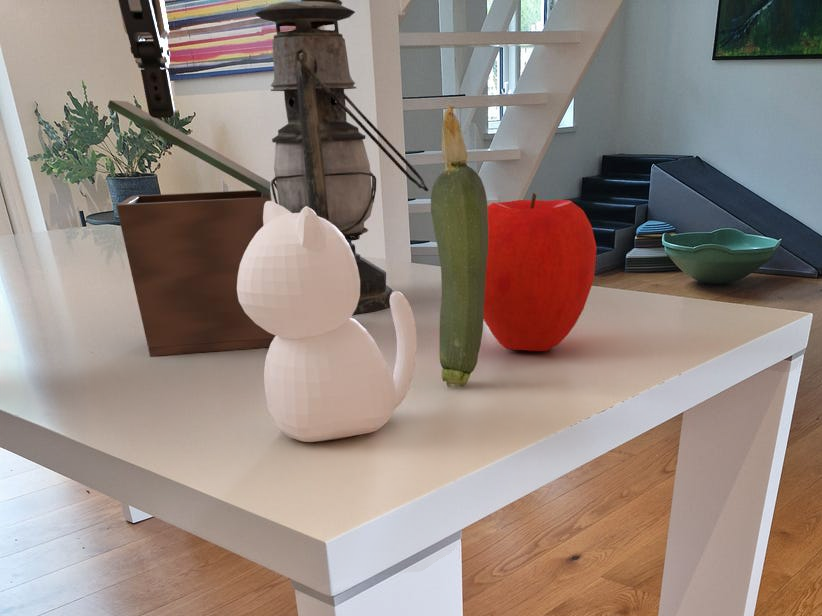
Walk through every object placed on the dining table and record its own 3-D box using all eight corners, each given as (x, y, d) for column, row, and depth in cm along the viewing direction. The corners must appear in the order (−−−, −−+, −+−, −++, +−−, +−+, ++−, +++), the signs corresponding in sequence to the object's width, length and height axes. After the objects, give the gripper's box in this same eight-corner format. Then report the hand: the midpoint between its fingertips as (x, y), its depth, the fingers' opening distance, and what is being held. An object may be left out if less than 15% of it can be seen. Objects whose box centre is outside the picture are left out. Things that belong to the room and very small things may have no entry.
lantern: (289, 291, 113) (250, 8, 97) (434, 286, 113) (420, 3, 98) (264, 322, 97) (213, -12, 81) (433, 315, 97) (416, -18, 82)
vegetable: (457, 376, 75) (446, 105, 65) (501, 381, 73) (497, 104, 63) (430, 389, 72) (413, 106, 61) (475, 395, 70) (466, 104, 60)
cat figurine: (241, 430, 64) (200, 204, 56) (388, 398, 70) (371, 190, 62) (290, 463, 58) (253, 213, 50) (448, 425, 63) (437, 197, 56)
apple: (477, 370, 77) (472, 201, 70) (459, 340, 86) (453, 190, 79) (606, 361, 78) (614, 195, 71) (574, 333, 88) (578, 185, 81)
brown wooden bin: (149, 356, 85) (115, 205, 78) (161, 333, 94) (131, 195, 87) (290, 345, 87) (269, 197, 80) (288, 324, 96) (270, 189, 89)
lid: (107, 107, 74) (109, 99, 74) (125, 107, 83) (127, 101, 83) (268, 196, 80) (270, 190, 80) (268, 188, 89) (270, 182, 88)
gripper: (83, -114, 75) (130, 118, 84) (51, -153, 64) (108, 119, 73) (173, -113, 77) (209, 116, 86) (156, -151, 66) (200, 116, 75)
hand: (163, 117), depth 80 cm, fingers closed
